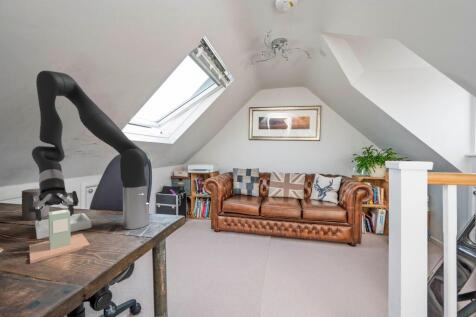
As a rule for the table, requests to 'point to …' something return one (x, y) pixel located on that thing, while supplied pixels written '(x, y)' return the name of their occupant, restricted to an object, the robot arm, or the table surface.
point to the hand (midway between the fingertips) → (56, 217)
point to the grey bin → (76, 224)
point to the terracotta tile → (44, 252)
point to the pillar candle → (25, 196)
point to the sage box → (59, 229)
